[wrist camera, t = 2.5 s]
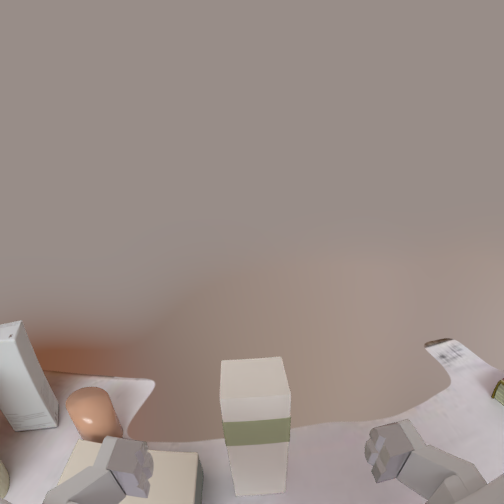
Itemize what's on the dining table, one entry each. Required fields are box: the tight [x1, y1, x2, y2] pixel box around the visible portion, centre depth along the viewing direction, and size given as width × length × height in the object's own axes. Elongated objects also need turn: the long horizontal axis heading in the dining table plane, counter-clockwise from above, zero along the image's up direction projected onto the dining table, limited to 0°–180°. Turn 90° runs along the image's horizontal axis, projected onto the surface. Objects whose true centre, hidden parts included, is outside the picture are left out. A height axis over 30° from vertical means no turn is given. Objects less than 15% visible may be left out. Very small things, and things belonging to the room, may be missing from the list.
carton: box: [220, 357, 291, 496], centre depth 23 cm, size 5×5×15 cm
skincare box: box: [0, 320, 59, 431], centre depth 28 cm, size 8×6×15 cm
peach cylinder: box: [66, 387, 123, 443], centre depth 29 cm, size 6×6×6 cm
